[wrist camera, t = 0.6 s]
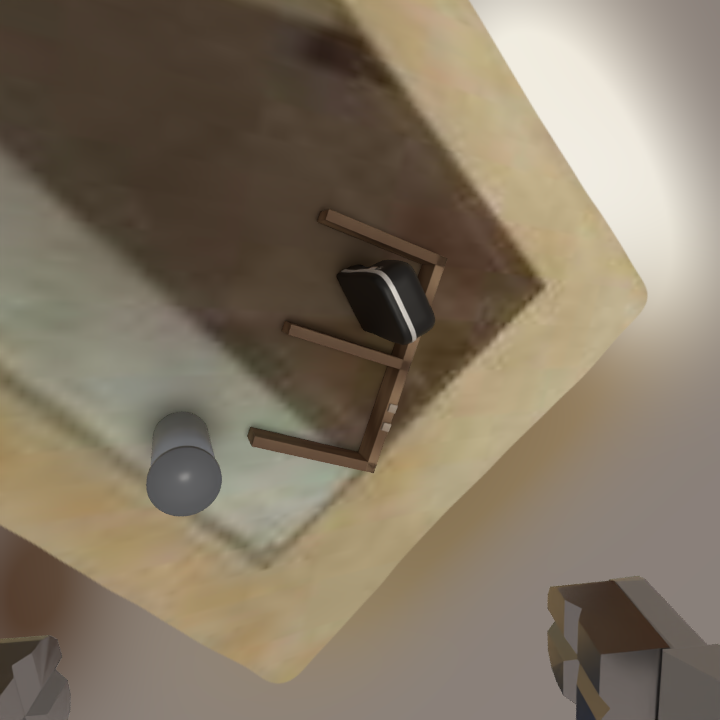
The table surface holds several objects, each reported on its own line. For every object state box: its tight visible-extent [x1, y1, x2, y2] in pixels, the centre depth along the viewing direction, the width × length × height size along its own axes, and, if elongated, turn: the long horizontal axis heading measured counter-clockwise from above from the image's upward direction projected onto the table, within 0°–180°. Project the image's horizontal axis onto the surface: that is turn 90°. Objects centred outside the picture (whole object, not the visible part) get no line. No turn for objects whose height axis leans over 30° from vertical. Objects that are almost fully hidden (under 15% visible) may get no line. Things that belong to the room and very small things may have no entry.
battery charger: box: [337, 260, 435, 345], centre depth 49 cm, size 7×4×11 cm, turn 26°
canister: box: [146, 412, 222, 516], centre depth 45 cm, size 5×5×11 cm
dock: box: [247, 209, 447, 473], centre depth 52 cm, size 23×13×3 cm, turn 159°
